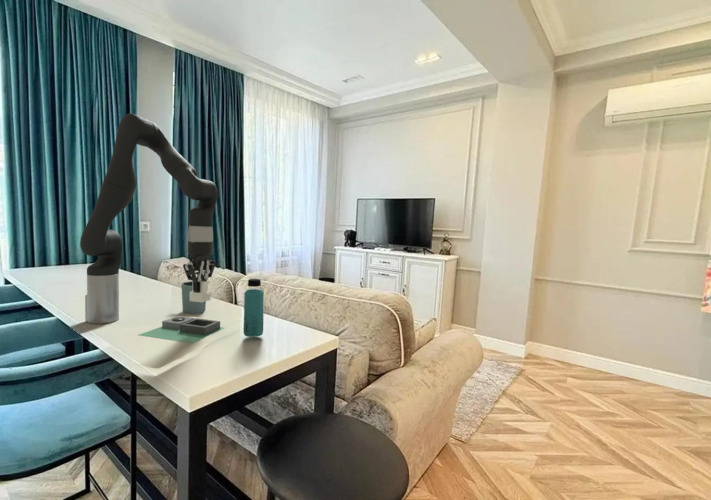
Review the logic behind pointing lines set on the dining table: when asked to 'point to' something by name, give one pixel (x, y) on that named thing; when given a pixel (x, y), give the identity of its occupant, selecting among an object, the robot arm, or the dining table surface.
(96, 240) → the robot arm
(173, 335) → the board
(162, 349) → the dining table surface
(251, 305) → the beverage bottle
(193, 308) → the grey-green tapered cup
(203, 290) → the plug
